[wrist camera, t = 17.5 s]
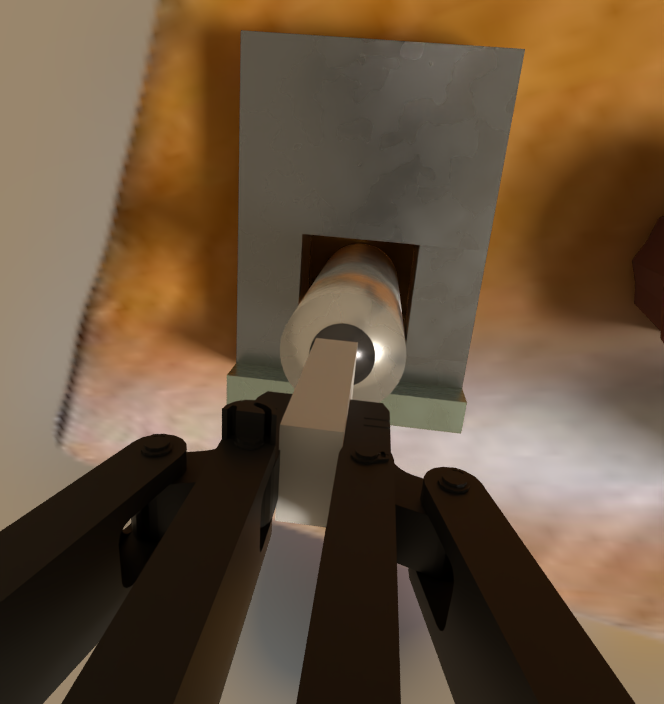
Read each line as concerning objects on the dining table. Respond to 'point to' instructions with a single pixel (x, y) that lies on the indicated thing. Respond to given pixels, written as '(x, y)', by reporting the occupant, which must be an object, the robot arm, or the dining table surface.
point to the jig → (370, 193)
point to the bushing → (352, 320)
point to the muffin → (651, 277)
